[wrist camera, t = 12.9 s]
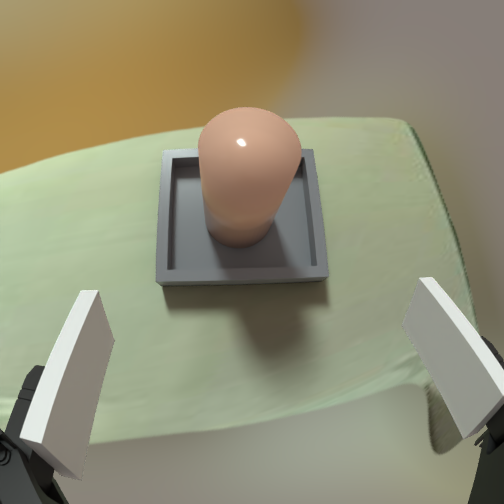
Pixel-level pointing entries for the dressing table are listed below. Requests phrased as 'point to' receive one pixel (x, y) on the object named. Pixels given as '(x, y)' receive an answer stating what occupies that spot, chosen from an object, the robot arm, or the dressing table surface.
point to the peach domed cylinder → (245, 173)
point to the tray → (237, 259)
